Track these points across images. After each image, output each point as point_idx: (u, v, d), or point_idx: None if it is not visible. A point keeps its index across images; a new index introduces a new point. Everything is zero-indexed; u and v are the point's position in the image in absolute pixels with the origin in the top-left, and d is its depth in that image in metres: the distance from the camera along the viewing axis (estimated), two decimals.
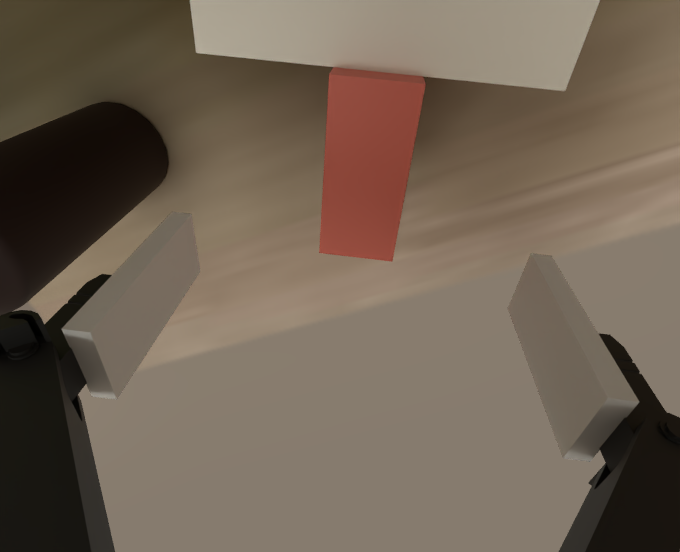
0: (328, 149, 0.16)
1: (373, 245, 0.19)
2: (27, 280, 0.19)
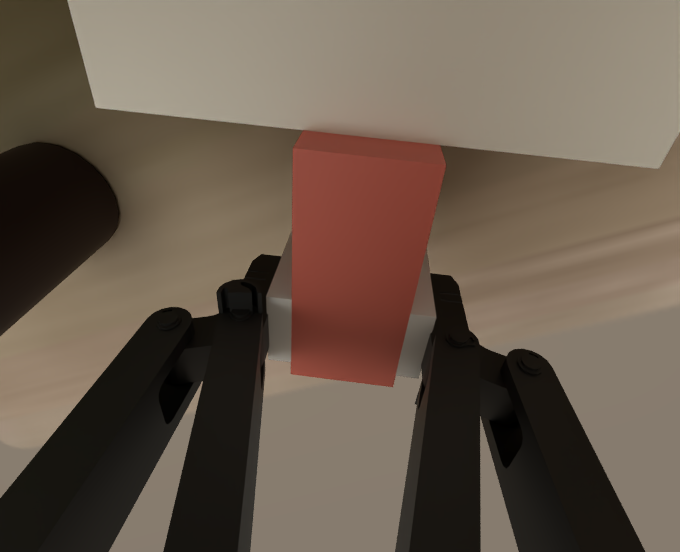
0: (297, 250, 0.11)
1: (366, 368, 0.13)
2: None
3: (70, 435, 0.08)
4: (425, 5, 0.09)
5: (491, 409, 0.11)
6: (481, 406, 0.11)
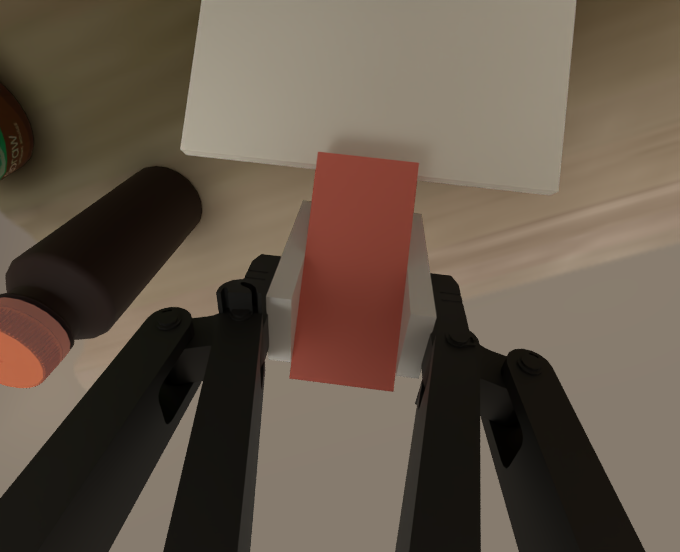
0: (312, 230, 0.14)
1: (366, 365, 0.14)
2: (115, 313, 0.26)
3: (70, 435, 0.08)
4: (396, 99, 0.15)
5: (491, 409, 0.11)
6: (481, 406, 0.11)
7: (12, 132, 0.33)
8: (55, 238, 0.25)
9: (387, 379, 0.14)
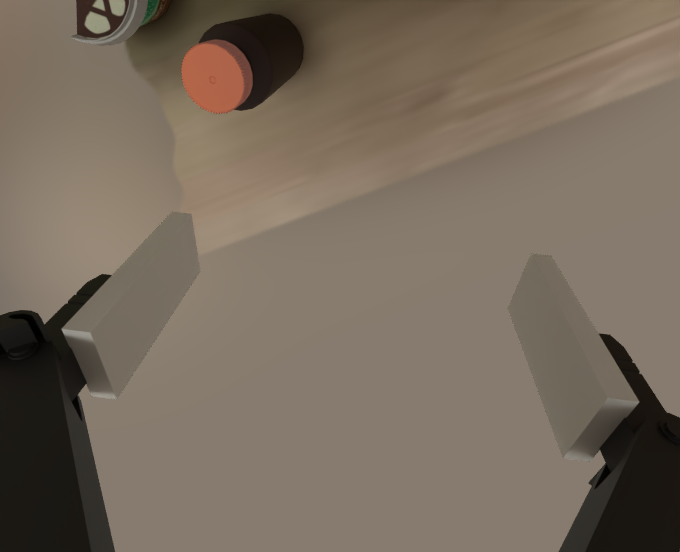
0: None
1: None
2: (272, 82, 0.35)
3: None
4: None
5: None
6: None
7: None
8: None
9: None
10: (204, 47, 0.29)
